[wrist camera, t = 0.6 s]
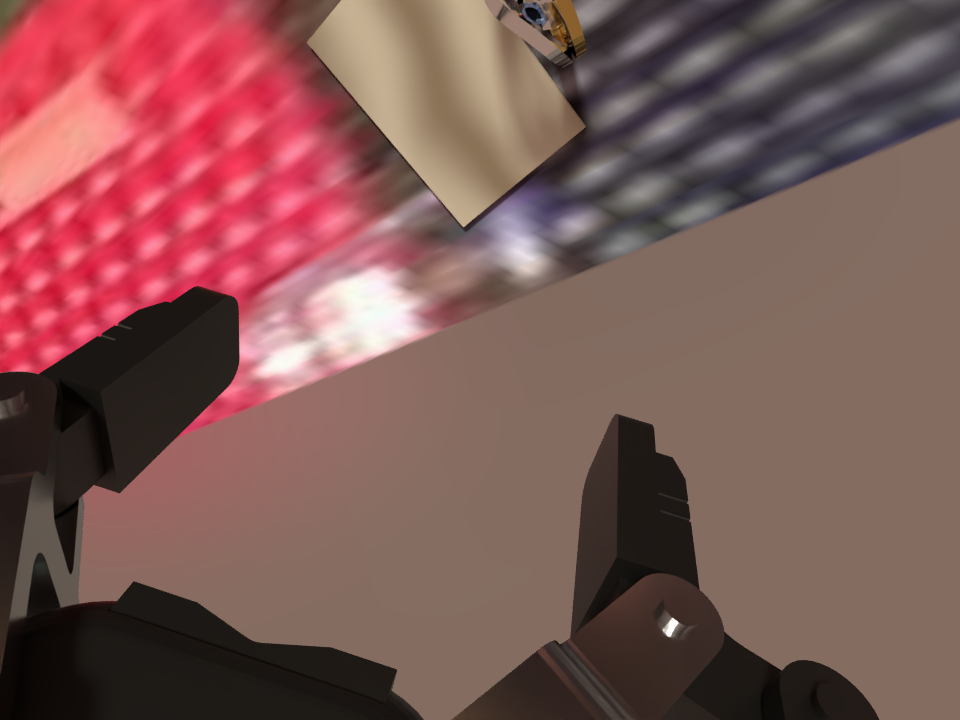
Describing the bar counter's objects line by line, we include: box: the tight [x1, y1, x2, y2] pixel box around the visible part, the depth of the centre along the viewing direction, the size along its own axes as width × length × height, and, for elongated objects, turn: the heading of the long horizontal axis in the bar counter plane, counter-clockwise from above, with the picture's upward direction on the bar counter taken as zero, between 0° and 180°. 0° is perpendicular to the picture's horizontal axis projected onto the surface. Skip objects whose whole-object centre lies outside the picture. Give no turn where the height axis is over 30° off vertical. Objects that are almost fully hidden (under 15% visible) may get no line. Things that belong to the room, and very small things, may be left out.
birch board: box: [307, 0, 586, 227], centre depth 32 cm, size 9×13×1 cm
